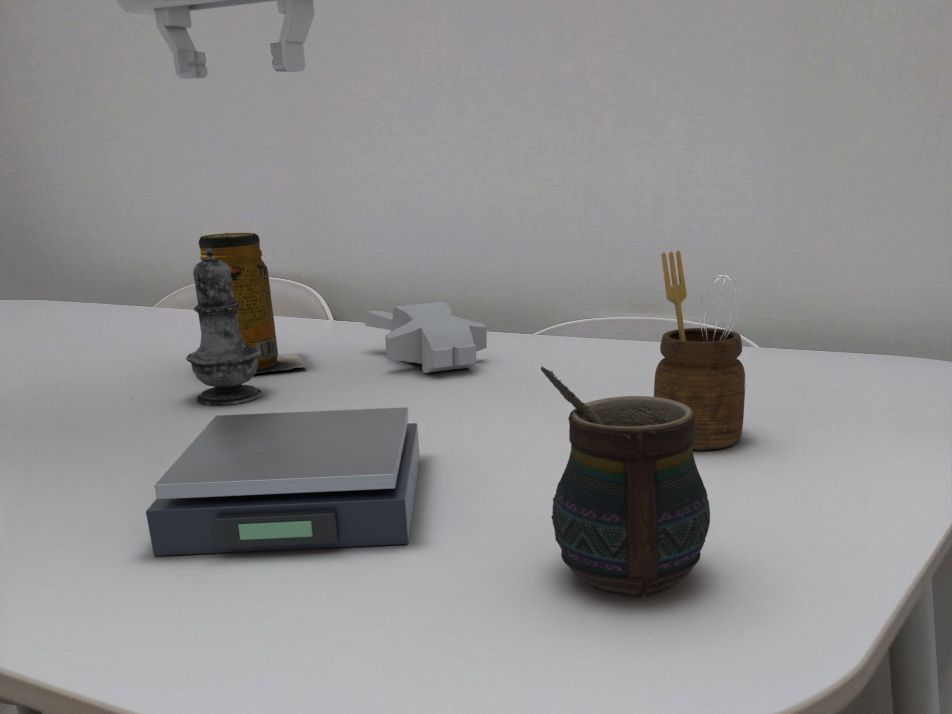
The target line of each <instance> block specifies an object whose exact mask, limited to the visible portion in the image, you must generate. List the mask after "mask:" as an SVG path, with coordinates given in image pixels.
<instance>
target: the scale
mask: <svg viewBox="0 0 952 714" xmlns="http://www.w3.org/2000/svg"><path fill="white" fill-rule="evenodd" d="M419 440H420V439H419V425H418V423H416V422H408V424H407V430H406V435H405V440H404V445H403V450H402V455H401V460H400V466H399V471H398V476H397V481H396V486H395V489H379V490H357V491H335V492H313V493H291V494H269V495H247V496H225V497H203V498H181V499H159V500H158V499H157V498H156V499H155V500H154V501H153V502H152V503H151V505H150V506H149V507H148V508H147V509H146V510H145V515H146V519H147V520H146V521H147V526H148V531H149V537H150V543H151V547H152V548H151V549H152V553H153V556H154V557H159V556H181V555H183V556H184V555H202V554H225V553H226V554H227V553H247V552H266V551H268V552H269V551H287V550H289V551H290V550H308V549H309V550H310V549H328V548H329V549H331V548H349V547H350V548H351V547H353V548H354V547H372V546H393V545H395V546H396V545H408V544H409V541H410V536H411V535H410V533H411V526H412V521H413V520H412V519H413V512H414V505H415V497H416V491H417V482H418V475H419V469H420V468H419V467H420V461H421V456H420V455H421V453H420V442H419Z"/></svg>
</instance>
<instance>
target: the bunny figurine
mask: <svg viewBox="0 0 952 714" xmlns="http://www.w3.org/2000/svg"><path fill="white" fill-rule="evenodd" d="M392 311H393V312H392V313H391V312H388V311H384V310H369V311H368V313H367V316H366V319H365V322H364V326H366V327H369V328H375V329H382V330H388V331H390V332H388V333H386V334H385V335H384V339H385V340H384V341H385V358H386V359H387V360H390V361H399V362H405V363H415V364H419V365H421V371H422V373H423V374H430V373H437V372H445V371H455V370H461V369H467V368H471V367H472V366H473V364H477V352H479V351H482V350H484V349H487V348H488V347H487V346H488V345H487V344H488V342H487V339H488V336H487V335H488V333H487V331H488V330H487V329H488V328H487V325H486V324H485V323H482V322H477V321H473V320H470V319H466V318H461V317H457V316H456V315H452V309H451V307H450V305H449V304H448V303H446V302H444V301H435V302H425V303H416V304H407V305H397V306H393V310H392Z"/></svg>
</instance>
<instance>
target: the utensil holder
mask: <svg viewBox="0 0 952 714" xmlns="http://www.w3.org/2000/svg"><path fill="white" fill-rule="evenodd" d="M675 257H676V258H675ZM675 259H676V262H675ZM668 260H669V265H668ZM661 262H662V271H663V280H664V288H665V295H666V300H667V301H668V302H670V303H672V304H673V305H674V308H675V316H676V324H677V329H673V330H669V331H666V332H665V333H663V334H662V336H661V340H660V346H659V352H660V354H661V355H662V356H663V357H664V358H661V360H660V361H659V362H658V364H657V366H656V369H655V372H654V379H653V380H654V383H653V397H659V398H665V399H670V400H673V401H677V402H680V403H682V404H685V405H687V406H689V407H690V408H692V409H693V411H694V413H695V423H694V427H695V438H694V440H693V442H692V449H693V451H706V450H707V451H709V450H710V451H711V450H718V449H723V448H727V447H731V446H732V445H734V444H736V443H737V442H738V441H740V438H741V437H742V433H743V428H744V417H745V416H744V415H745V400H746V372H745V366H744V365H743V362H742V361H741V360H740V359H739V357H740V356H741V354H742V352H743V343H742V337H741V334H740V333H738V332H736V331H734V330H733V328H734V325H735V323H736V321H737V318H738V315H739V309H740V303H741V295H742V291H741V287H740V284H739V282H738V281H737V279H735V278H734V277H733V276H732V275H726V274H718V275H716V276H713V277H712V278H711V279H709V280H708V281H707V283H706V284H705V286H704V288H703V291H702V296H701V301H700V306H699V312H701V310H702V303H703V298H704V295H705V290H706V288H707V285H708V284H709V283H710V285H709V288H708V293H707V298H706V303H705V309H704V316H703V327H702V324H701V323H702V322H701V320H699V326H700V327H689V328H688V327H686V328H685V325H684V318H683V310H682V302H684V301H685V299H686V298H687V296H688V295H687V288H686V287H687V286H686V280H685V274H684V268H683V262H682V255H681V251H680V250H676V252H675V256H674V252H673V251H669V252H668V258H667V253H666V252H664V251H663V252H661ZM675 263H676V264H675ZM676 266H677V267H676ZM669 268H670V270H669ZM676 268H677V269H676ZM669 271H670V272H669ZM677 275H678V276H677ZM716 278H717V279H716ZM721 278H723V283H722V288H721V294H720V299H719V304H718V310H717V316H716V322H715V325H714V326H715V327H706V325H707V308H708V301H709V296H710V293H711V290H712V288H713V286H714V285H715V283H716V282H718V281H719V279H721ZM726 278H727V279H729V280H730V282H731V284H732V287H733V292H734V293H733V294H734V296H733V301H732V302H733V303H732V307H731V311H730V315H729V319H728V321H727V323H726V326H725V328H724V329H723V328H717V325H718V320H719V316H720V310H721V304H722V300H723V294H724V288H725V282H726ZM715 279H716V280H715ZM714 280H715V281H714ZM732 280H733V281H732ZM733 282H734V283H733ZM737 285H738V289H739V300H738V306H737V311H736V315H735V319H734V322H733V323H732V326H731V327H730V324H731V321H732V317H733V313H734V306H735V301H736V293H737V292H736V291H737ZM729 327H730V329H729Z"/></svg>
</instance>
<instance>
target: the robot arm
mask: <svg viewBox="0 0 952 714" xmlns="http://www.w3.org/2000/svg"><path fill="white" fill-rule="evenodd" d="M116 2H117V4H118V5H119V7H120V8H121V9H122V11H123V12H125V13H130V14H131V13H132V14H138V15H150V16H155V24H156V28H157V29H158V31H159V33H160V35H161V36H162V38H163V40H164V42H165V43H166V45H167V47H168V48H169V50H170V52H171V53H172V56H173V63H174V69H175V70H174V71H175V75H176V77H178V79H183V80H197V79H198V80H199V79H205V78H206V77H207V76H208V68H207V66H206V63H207V59H206V58H207V57H206V52H205V51H197V49H196V47H195V45H194V42H193V40H192V38H191V36H190V34H189V32H188V29H191V28H192V17H191V16H192V15H191V12H194V11H203V10H213V9H219V8H229V7H237V6H245V5H255V4H262V3H271V2H276V4H277V12H278V14H280V15H284V18H283V21H282V27H281V30H280V35H279V38H278V42H271V43H270V44H269V46H270V54H271V56H272V60H271V65H272V67H273V69H274V71H275V72H279V73H293V72H294V73H295V72H303V71H304V70H305V69H306V62H305V61H306V59H305V49H304V44H305V43H306V41H307V38H308V35H309V31H310V28H311V26H312V24H313V20H314V17H315V8H314V7H315V6H314V0H116Z"/></svg>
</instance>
